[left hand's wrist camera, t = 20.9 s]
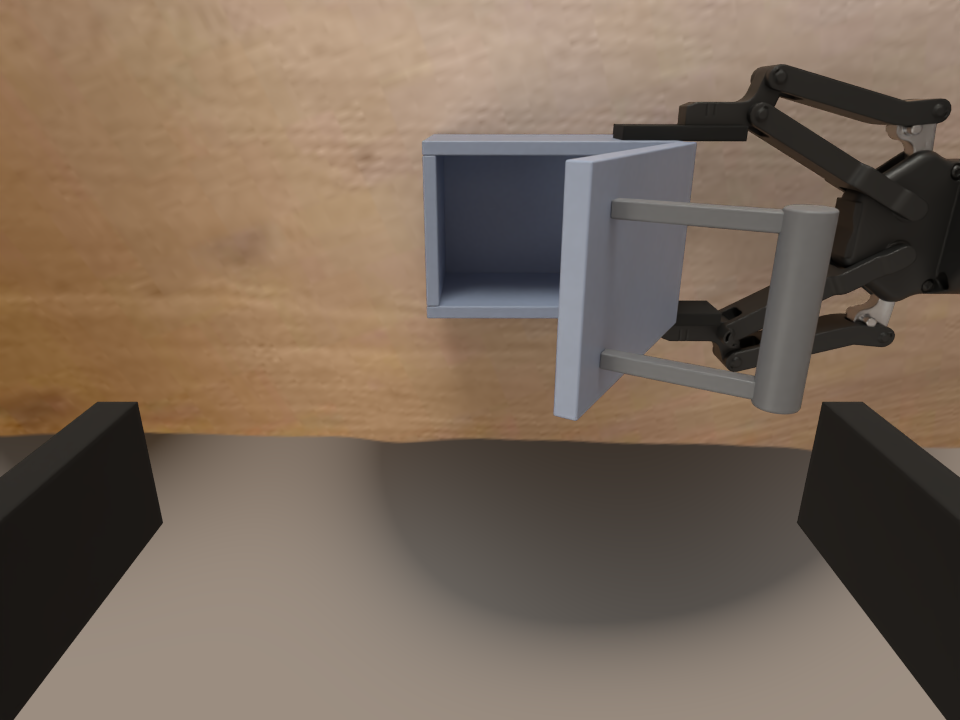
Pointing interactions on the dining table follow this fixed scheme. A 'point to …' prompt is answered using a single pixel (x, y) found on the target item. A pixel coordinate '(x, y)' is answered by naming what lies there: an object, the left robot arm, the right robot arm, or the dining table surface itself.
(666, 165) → the door
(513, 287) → the chest
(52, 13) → the dining table surface
